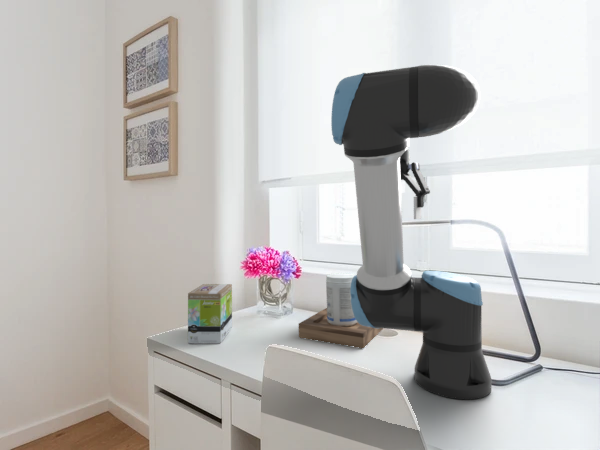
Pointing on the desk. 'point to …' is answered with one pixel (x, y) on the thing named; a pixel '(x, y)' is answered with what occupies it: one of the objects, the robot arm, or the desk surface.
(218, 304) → the tea box
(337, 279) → the supplement tub
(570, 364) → the desk surface
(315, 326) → the walnut base
